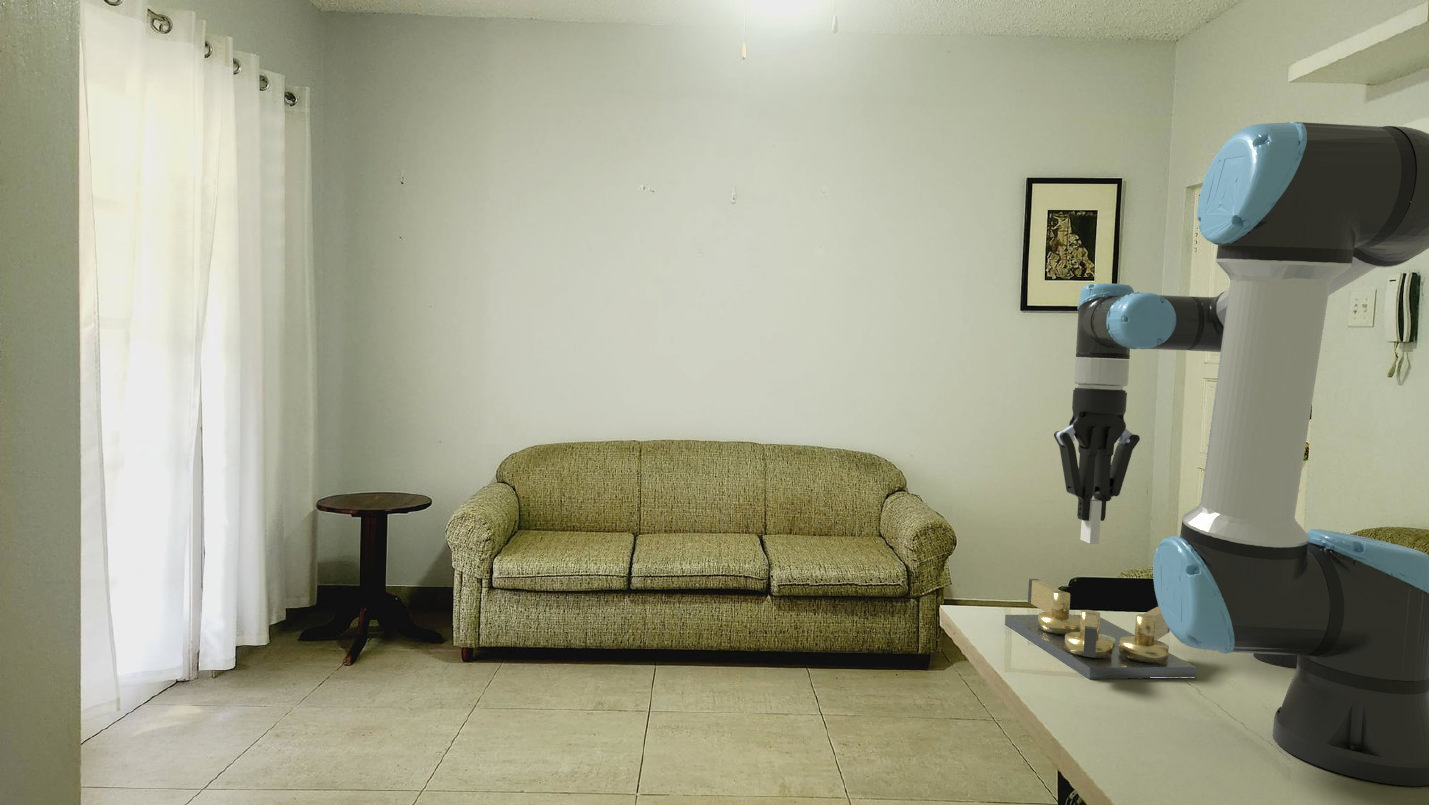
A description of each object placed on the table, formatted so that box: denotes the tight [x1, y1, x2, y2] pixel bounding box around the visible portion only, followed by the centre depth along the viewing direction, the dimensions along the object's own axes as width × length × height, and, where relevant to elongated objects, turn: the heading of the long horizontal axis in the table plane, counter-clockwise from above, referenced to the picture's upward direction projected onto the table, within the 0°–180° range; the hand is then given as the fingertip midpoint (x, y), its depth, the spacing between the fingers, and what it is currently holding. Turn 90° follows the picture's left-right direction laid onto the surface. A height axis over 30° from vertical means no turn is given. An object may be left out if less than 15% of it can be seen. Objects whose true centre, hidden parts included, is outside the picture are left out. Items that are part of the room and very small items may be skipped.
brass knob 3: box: [1119, 605, 1171, 662], centre depth 126 cm, size 12×6×5 cm, turn 137°
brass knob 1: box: [1027, 578, 1081, 634], centre depth 137 cm, size 12×6×5 cm, turn 8°
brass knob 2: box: [1064, 609, 1113, 658], centre depth 122 cm, size 12×6×5 cm, turn 158°
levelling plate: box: [1004, 614, 1198, 680], centre depth 131 cm, size 24×15×2 cm, turn 8°
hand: (1089, 541), depth 140 cm, fingers closed
